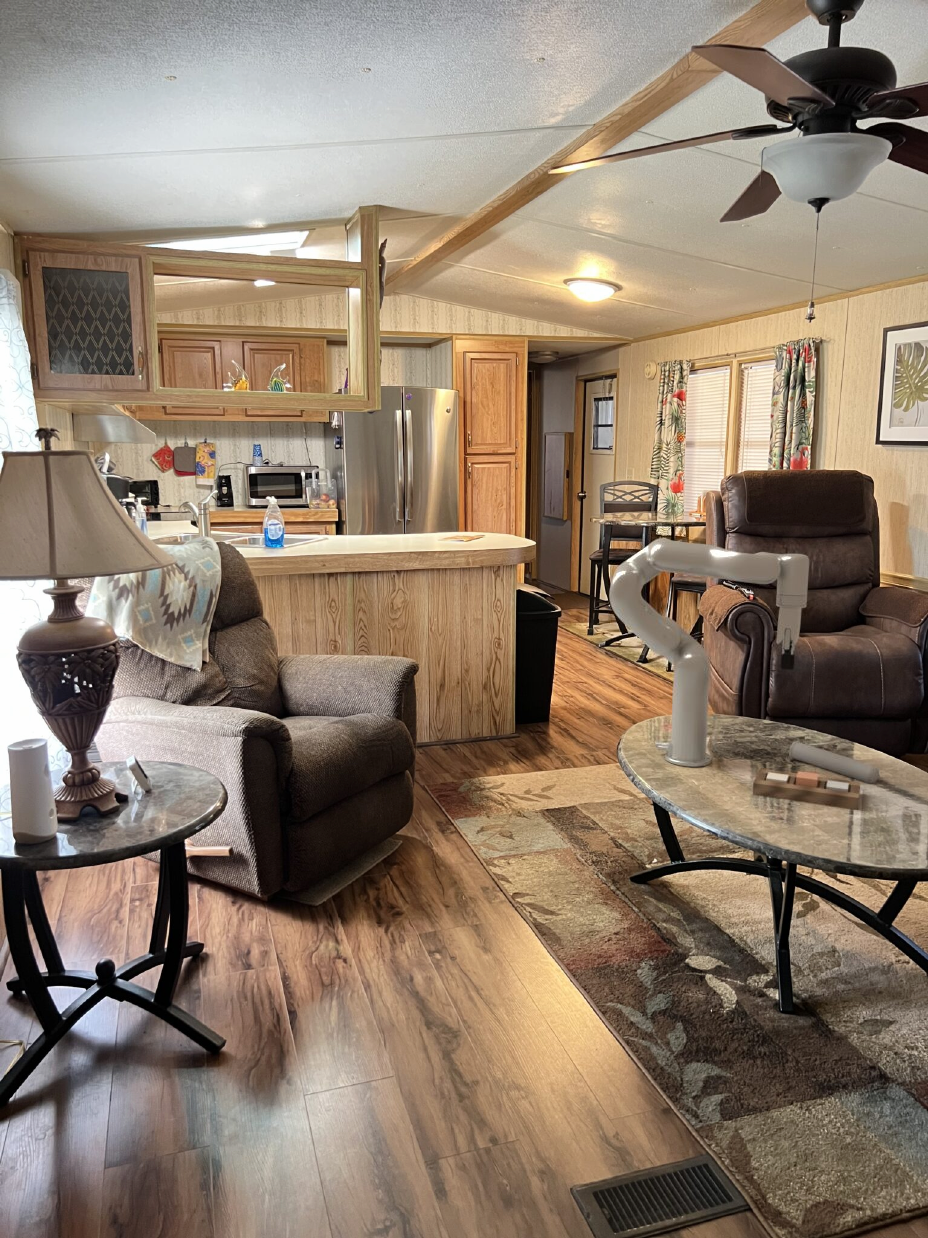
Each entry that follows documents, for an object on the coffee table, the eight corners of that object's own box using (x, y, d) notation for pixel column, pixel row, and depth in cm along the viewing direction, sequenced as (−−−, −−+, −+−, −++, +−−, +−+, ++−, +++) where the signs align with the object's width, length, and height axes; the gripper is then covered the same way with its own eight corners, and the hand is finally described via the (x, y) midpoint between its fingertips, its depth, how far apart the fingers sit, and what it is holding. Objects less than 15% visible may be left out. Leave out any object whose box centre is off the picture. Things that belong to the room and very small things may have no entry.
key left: (765, 789, 223) (766, 778, 223) (767, 783, 228) (768, 772, 227) (785, 792, 221) (786, 781, 221) (787, 786, 226) (788, 775, 225)
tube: (886, 768, 230) (803, 742, 251) (874, 765, 227) (792, 739, 248) (880, 788, 230) (798, 760, 251) (869, 785, 227) (786, 757, 248)
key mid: (795, 788, 220) (796, 777, 220) (797, 782, 225) (798, 771, 224) (816, 791, 218) (817, 780, 218) (817, 785, 223) (818, 774, 222)
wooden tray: (752, 794, 221) (753, 783, 221) (759, 779, 232) (759, 768, 232) (858, 810, 211) (858, 798, 211) (859, 793, 222) (860, 782, 222)
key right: (825, 798, 218) (826, 786, 217) (826, 791, 222) (827, 780, 221) (846, 801, 216) (847, 789, 215) (847, 794, 220) (848, 783, 219)
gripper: (779, 596, 244) (775, 662, 247) (773, 603, 230) (769, 673, 233) (808, 598, 240) (804, 664, 244) (804, 605, 227) (799, 675, 230)
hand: (787, 668), depth 238 cm, fingers closed
